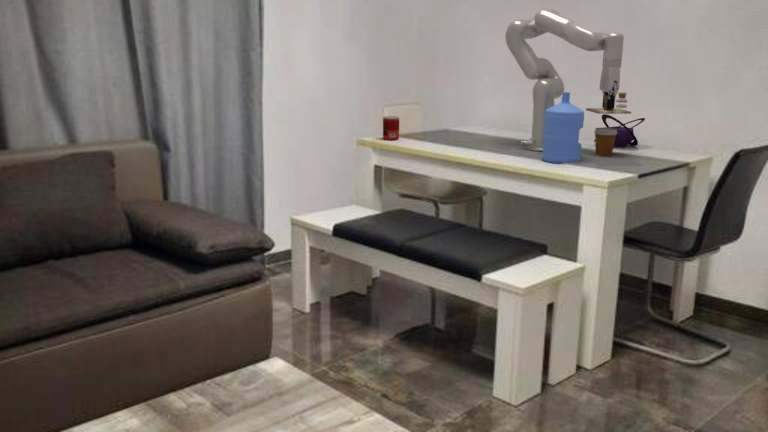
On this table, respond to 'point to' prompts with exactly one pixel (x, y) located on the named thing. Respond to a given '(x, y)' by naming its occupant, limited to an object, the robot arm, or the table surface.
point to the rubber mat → (615, 162)
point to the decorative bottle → (624, 133)
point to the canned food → (390, 128)
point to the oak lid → (607, 111)
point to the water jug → (562, 132)
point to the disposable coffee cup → (605, 140)
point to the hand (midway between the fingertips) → (608, 107)
